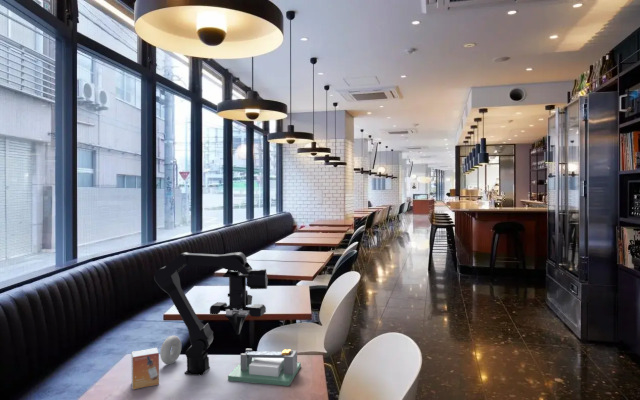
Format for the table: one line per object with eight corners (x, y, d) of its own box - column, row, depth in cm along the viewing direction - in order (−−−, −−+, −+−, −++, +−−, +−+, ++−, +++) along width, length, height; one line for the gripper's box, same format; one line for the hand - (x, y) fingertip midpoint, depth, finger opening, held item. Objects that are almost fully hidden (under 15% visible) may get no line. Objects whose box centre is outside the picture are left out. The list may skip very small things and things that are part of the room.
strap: (242, 358, 141) (242, 352, 141) (246, 354, 144) (245, 349, 144) (289, 358, 137) (289, 352, 137) (291, 355, 140) (291, 349, 140)
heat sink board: (227, 380, 136) (227, 357, 136) (245, 362, 150) (245, 341, 150) (288, 385, 131) (288, 362, 131) (300, 366, 146) (300, 345, 146)
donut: (166, 369, 144) (166, 341, 144) (158, 368, 145) (157, 340, 145) (183, 358, 154) (183, 332, 154) (175, 357, 155) (175, 331, 155)
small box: (132, 390, 129) (131, 357, 129) (131, 383, 134) (131, 351, 134) (159, 384, 133) (159, 352, 133) (157, 377, 138) (157, 346, 138)
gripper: (270, 285, 148) (271, 328, 149) (222, 283, 152) (223, 325, 153) (259, 292, 138) (260, 338, 138) (208, 290, 141) (209, 335, 142)
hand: (238, 333), depth 143 cm, fingers closed
